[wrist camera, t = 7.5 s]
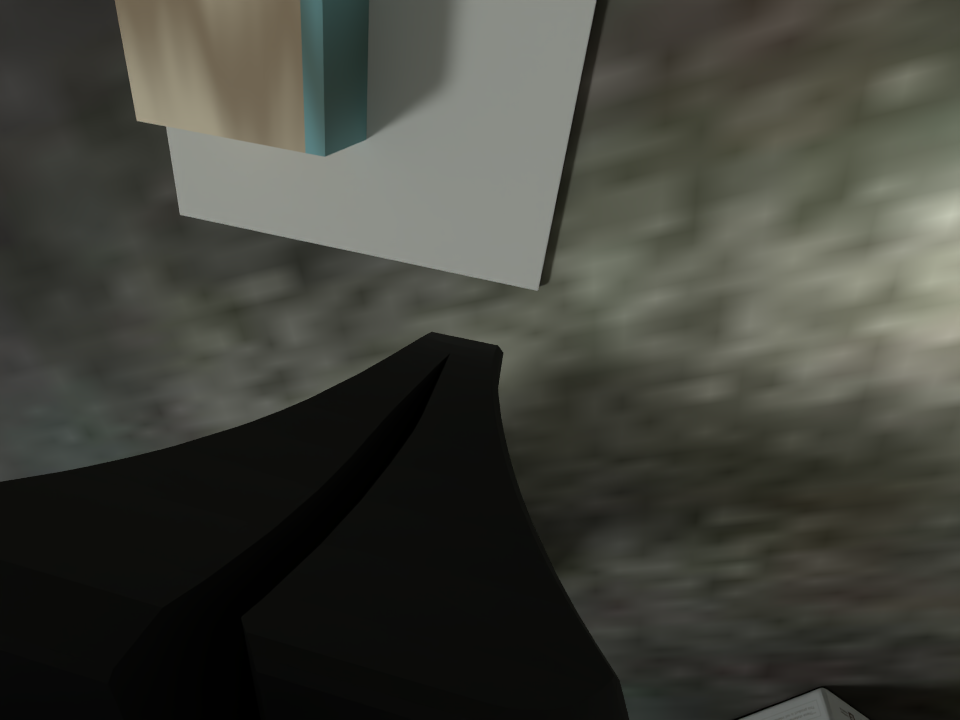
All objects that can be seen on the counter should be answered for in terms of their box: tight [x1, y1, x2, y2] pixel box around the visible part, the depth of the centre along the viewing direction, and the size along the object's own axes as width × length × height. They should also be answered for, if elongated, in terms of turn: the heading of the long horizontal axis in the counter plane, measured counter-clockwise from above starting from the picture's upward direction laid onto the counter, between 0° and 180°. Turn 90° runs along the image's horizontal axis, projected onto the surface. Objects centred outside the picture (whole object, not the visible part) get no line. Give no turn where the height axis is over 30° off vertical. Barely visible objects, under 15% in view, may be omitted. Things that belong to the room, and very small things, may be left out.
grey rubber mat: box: [166, 0, 597, 291], centre depth 17 cm, size 14×14×1 cm
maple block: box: [115, 0, 369, 157], centre depth 16 cm, size 6×3×6 cm
